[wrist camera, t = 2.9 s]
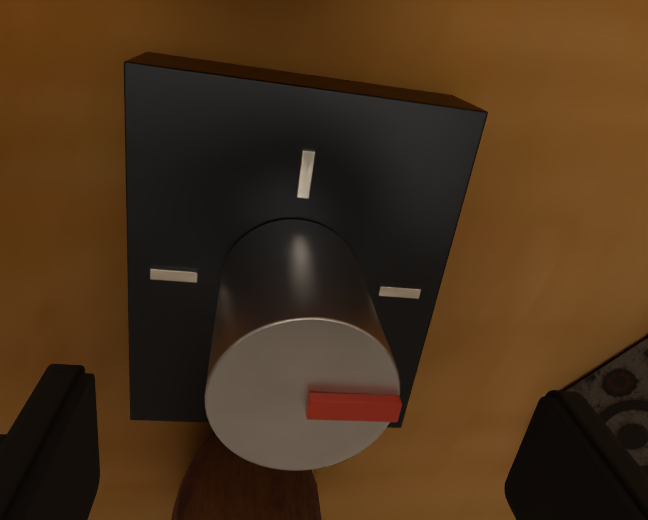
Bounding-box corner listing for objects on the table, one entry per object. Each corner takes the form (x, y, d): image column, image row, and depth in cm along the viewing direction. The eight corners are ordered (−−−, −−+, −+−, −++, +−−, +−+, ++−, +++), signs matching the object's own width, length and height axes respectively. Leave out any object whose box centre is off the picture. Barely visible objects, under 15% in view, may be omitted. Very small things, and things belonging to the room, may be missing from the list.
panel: (146, 367, 21) (129, 423, 18) (146, 51, 16) (122, 62, 13) (384, 378, 23) (402, 431, 20) (453, 95, 17) (491, 112, 15)
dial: (216, 336, 17) (198, 481, 12) (225, 211, 15) (207, 318, 10) (346, 343, 18) (383, 483, 13) (370, 225, 16) (424, 332, 11)
